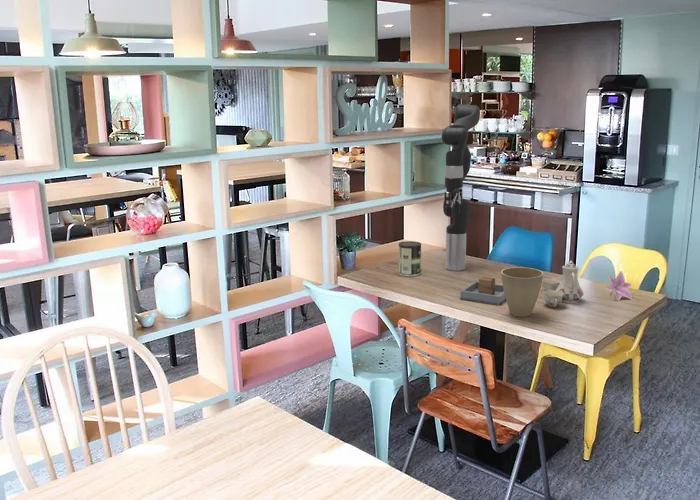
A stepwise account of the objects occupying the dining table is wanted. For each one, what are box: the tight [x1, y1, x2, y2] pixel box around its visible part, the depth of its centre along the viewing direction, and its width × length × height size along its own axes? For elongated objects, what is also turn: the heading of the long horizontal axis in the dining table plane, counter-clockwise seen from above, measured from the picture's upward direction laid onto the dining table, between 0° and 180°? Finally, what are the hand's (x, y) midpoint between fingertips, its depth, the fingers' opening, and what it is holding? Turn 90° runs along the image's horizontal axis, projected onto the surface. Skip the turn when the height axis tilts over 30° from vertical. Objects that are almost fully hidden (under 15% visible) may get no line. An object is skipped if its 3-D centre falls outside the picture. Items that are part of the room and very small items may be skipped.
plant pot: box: [500, 266, 544, 318], centre depth 243 cm, size 15×15×16 cm
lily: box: [605, 270, 633, 302], centre depth 262 cm, size 12×12×10 cm
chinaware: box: [540, 260, 584, 308], centre depth 259 cm, size 28×17×17 cm, turn 171°
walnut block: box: [478, 275, 496, 295], centre depth 264 cm, size 5×5×7 cm
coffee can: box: [398, 240, 422, 277], centre depth 301 cm, size 10×10×14 cm
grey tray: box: [459, 280, 506, 306], centre depth 265 cm, size 16×16×4 cm
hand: (453, 214), depth 279 cm, fingers open, 8 cm apart
